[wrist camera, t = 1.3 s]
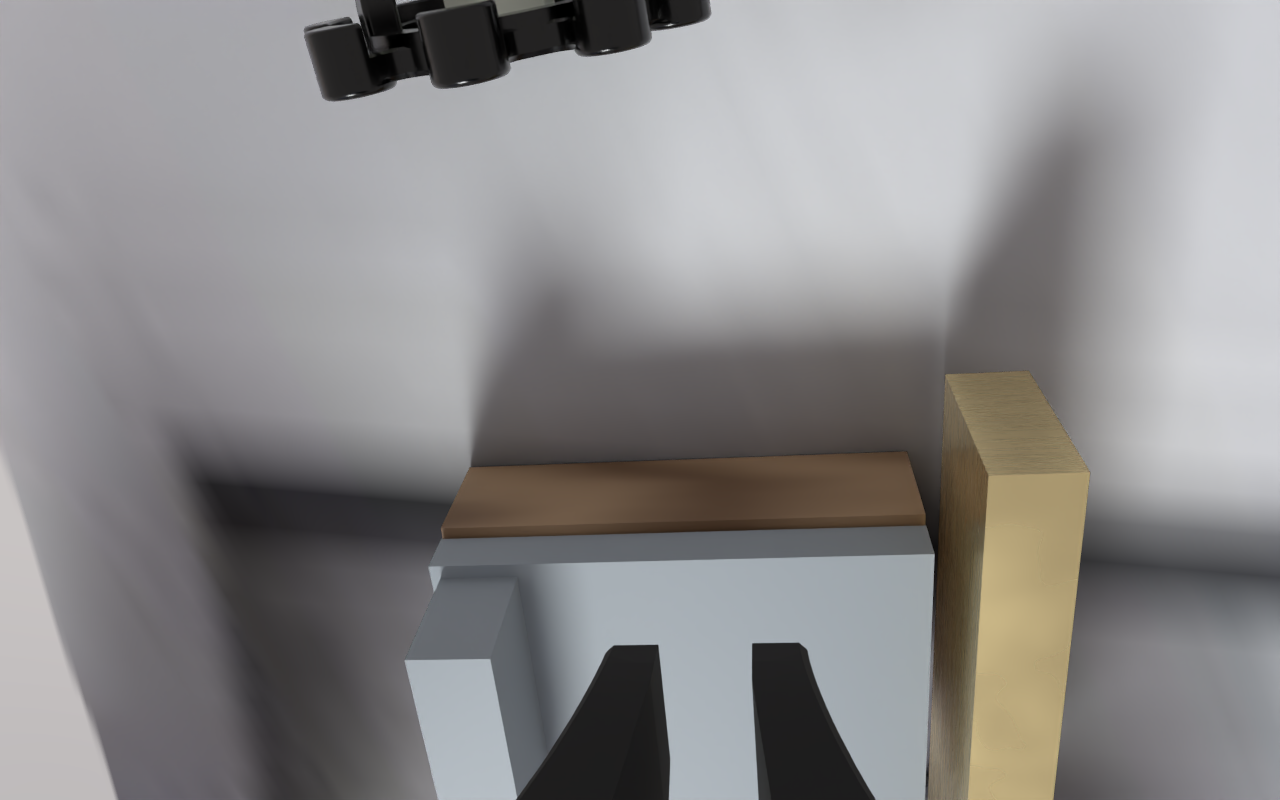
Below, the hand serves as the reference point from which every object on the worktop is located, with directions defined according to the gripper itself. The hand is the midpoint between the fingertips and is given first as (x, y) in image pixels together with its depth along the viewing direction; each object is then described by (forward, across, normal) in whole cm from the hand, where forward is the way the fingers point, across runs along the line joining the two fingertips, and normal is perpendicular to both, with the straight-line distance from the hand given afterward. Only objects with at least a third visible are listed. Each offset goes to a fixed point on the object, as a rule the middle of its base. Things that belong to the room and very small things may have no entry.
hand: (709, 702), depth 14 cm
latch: (+8, -5, +6) cm, 12 cm away
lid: (+7, +1, +5) cm, 9 cm away
